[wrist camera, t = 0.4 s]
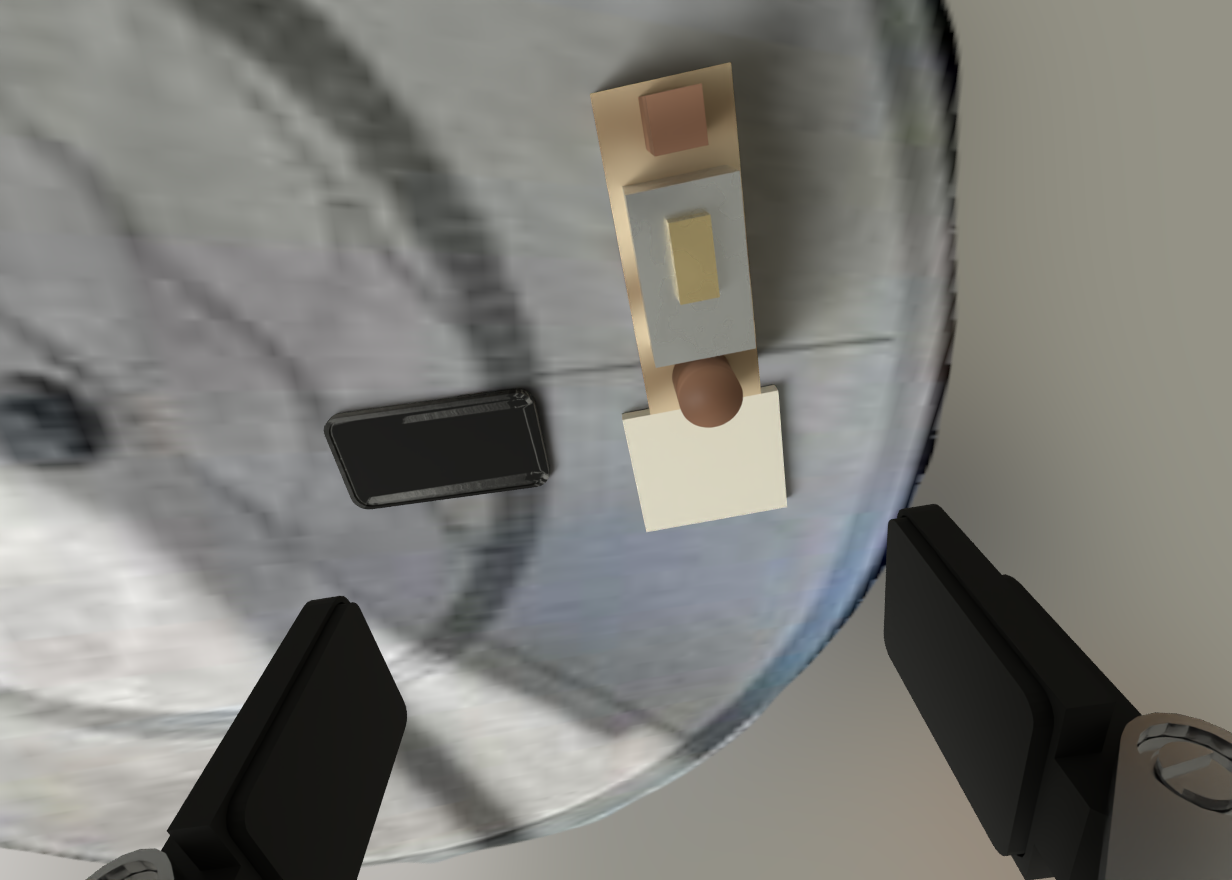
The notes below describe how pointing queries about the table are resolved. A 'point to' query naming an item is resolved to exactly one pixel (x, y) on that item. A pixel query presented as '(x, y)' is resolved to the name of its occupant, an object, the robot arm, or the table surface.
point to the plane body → (657, 148)
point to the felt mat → (707, 463)
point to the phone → (439, 449)
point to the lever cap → (692, 264)
